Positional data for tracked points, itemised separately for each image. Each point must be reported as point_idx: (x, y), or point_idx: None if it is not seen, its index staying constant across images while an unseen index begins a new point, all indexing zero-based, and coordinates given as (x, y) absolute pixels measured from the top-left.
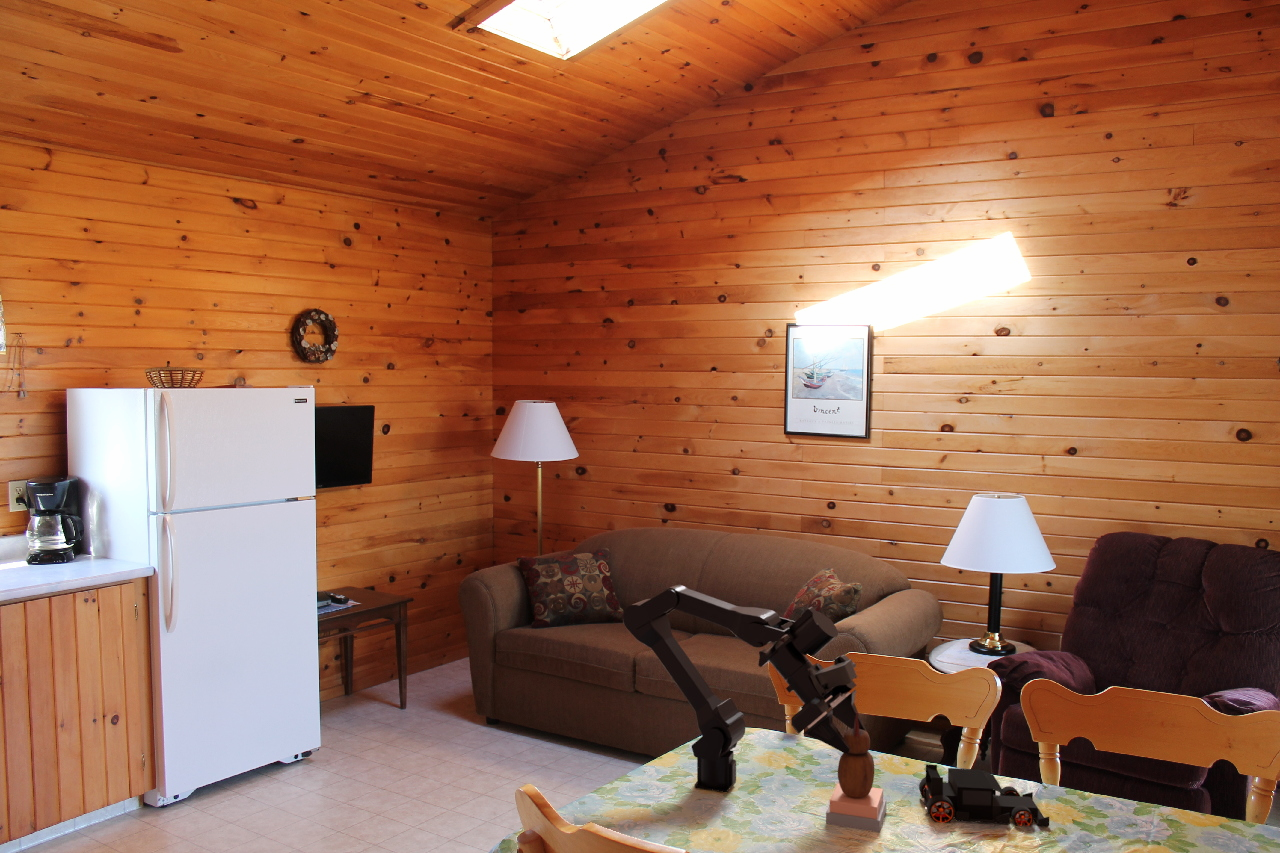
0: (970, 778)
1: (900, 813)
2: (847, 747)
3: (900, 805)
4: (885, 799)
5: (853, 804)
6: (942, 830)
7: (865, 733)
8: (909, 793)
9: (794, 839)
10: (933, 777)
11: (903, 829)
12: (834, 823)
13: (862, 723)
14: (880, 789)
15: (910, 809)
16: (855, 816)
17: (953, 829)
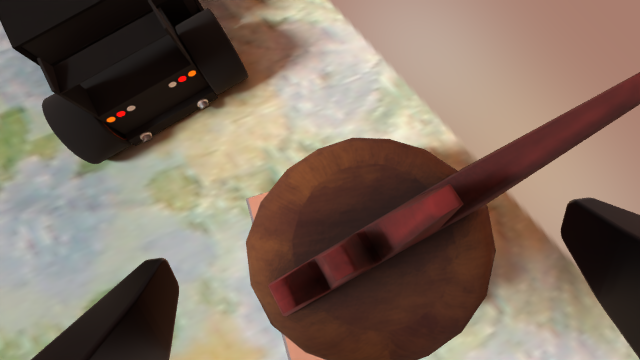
0: None
1: (247, 165)
2: (619, 208)
3: (196, 187)
4: (248, 200)
5: None
6: (280, 42)
7: (357, 156)
8: (100, 201)
9: (621, 342)
10: (163, 23)
11: (338, 118)
12: None
13: (91, 316)
14: (258, 204)
15: (206, 154)
16: None
17: (258, 25)
